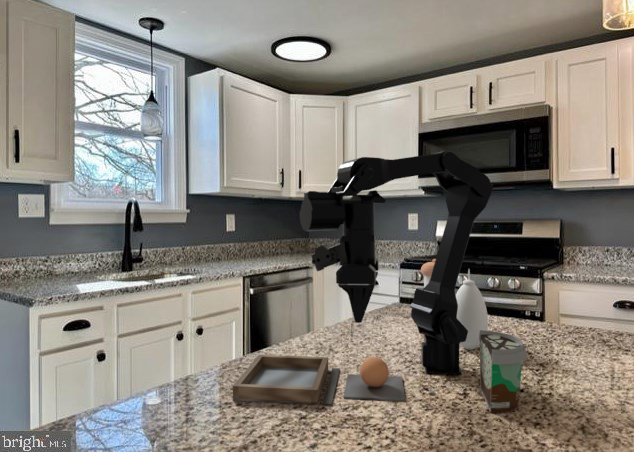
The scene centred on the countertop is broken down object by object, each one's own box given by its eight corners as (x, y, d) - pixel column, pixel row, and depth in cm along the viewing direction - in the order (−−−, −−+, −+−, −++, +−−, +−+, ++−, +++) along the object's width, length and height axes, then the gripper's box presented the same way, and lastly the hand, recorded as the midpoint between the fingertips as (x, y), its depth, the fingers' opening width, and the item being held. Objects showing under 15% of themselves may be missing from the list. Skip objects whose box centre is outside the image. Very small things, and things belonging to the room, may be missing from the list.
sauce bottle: (476, 356, 93) (476, 272, 92) (443, 348, 99) (443, 268, 98) (493, 348, 98) (494, 268, 97) (462, 341, 104) (462, 266, 103)
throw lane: (400, 372, 84) (400, 360, 84) (406, 409, 68) (406, 394, 68) (258, 366, 87) (258, 354, 87) (232, 400, 72) (232, 385, 71)
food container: (536, 420, 64) (537, 353, 64) (492, 417, 65) (492, 350, 65) (516, 387, 76) (516, 330, 76) (478, 385, 77) (479, 329, 77)
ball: (388, 381, 78) (388, 353, 78) (389, 392, 74) (389, 363, 73) (360, 380, 79) (360, 352, 79) (359, 391, 74) (359, 362, 74)
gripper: (322, 227, 88) (324, 304, 89) (304, 232, 70) (306, 328, 71) (378, 227, 86) (379, 305, 87) (373, 231, 68) (375, 330, 69)
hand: (360, 316), depth 78 cm, fingers open, 9 cm apart
